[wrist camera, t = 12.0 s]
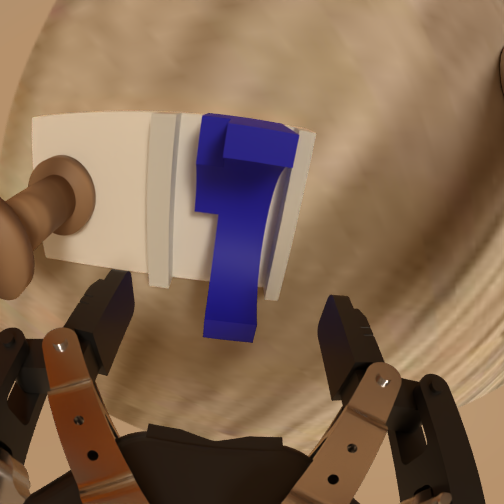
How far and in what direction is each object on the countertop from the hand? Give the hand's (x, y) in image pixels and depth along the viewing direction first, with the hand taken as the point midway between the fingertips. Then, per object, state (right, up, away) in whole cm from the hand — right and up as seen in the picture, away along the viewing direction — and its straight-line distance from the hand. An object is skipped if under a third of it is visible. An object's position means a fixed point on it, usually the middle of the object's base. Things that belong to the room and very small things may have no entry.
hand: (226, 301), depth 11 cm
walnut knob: (-13, +6, +7) cm, 16 cm away
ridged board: (-6, +6, +8) cm, 12 cm away
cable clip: (0, +5, +8) cm, 10 cm away
